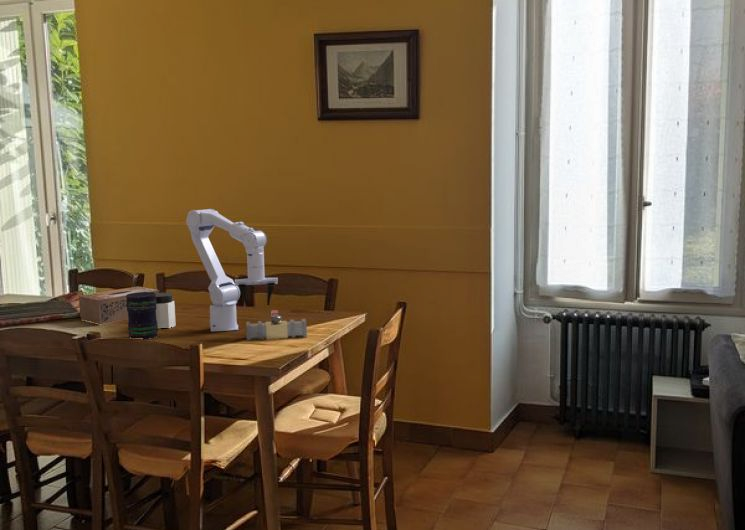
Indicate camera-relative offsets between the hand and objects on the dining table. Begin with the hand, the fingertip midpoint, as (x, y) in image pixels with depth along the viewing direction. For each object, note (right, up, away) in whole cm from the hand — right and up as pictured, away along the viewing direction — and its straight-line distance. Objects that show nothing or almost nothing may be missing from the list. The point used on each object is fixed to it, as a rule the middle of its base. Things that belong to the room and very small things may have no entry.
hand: (257, 305), depth 255 cm
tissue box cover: (-58, -7, +33) cm, 67 cm away
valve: (+7, -11, -5) cm, 14 cm away
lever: (+6, -5, -1) cm, 8 cm away
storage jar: (-39, -11, -1) cm, 40 cm away
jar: (-37, -9, +14) cm, 40 cm away
